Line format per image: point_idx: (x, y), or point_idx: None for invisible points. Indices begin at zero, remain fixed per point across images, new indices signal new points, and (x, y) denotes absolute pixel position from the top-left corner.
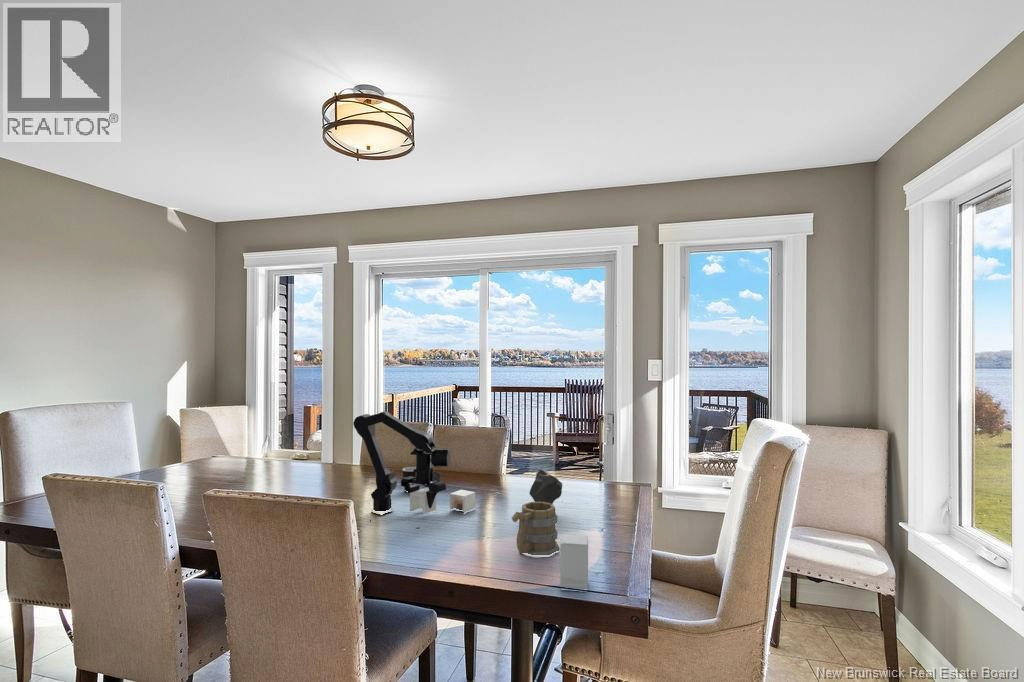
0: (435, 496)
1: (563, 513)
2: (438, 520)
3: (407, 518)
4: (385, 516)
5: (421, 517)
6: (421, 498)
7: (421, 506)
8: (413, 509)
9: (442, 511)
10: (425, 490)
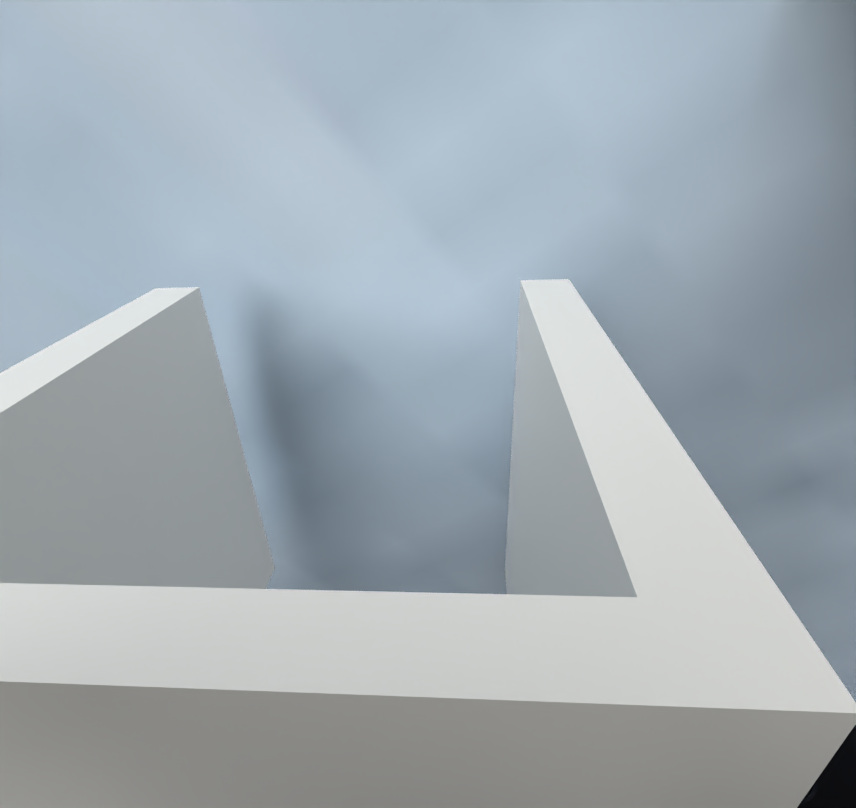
0: (685, 507)
1: None
2: (793, 496)
3: None
4: None
5: (474, 517)
6: (94, 477)
7: (205, 366)
8: (257, 547)
9: (600, 45)
10: (11, 782)
